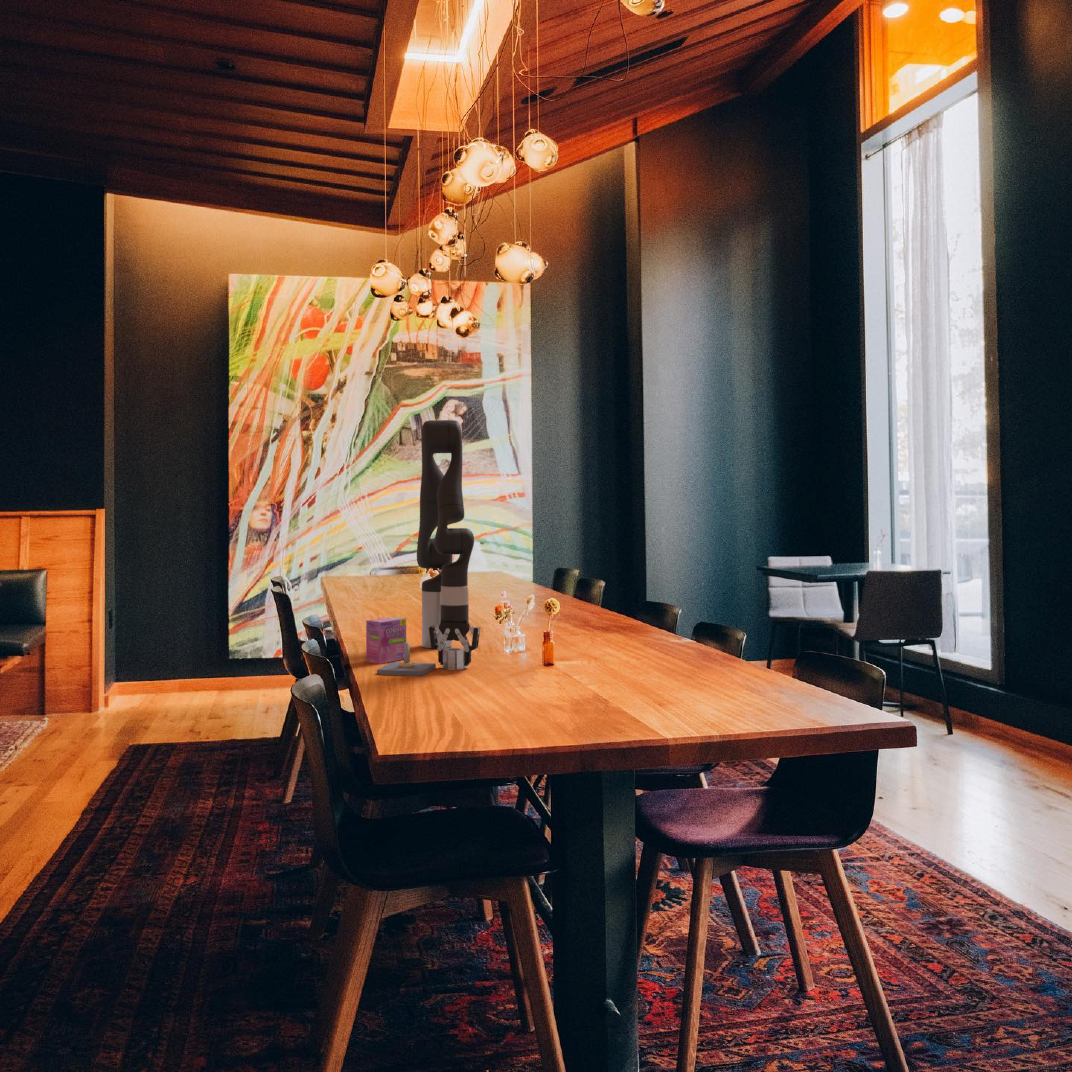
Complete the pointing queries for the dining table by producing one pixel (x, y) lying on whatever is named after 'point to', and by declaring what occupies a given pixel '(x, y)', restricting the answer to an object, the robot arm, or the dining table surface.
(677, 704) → the dining table surface
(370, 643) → the box
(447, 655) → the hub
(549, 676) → the dining table surface
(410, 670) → the shaft stand
